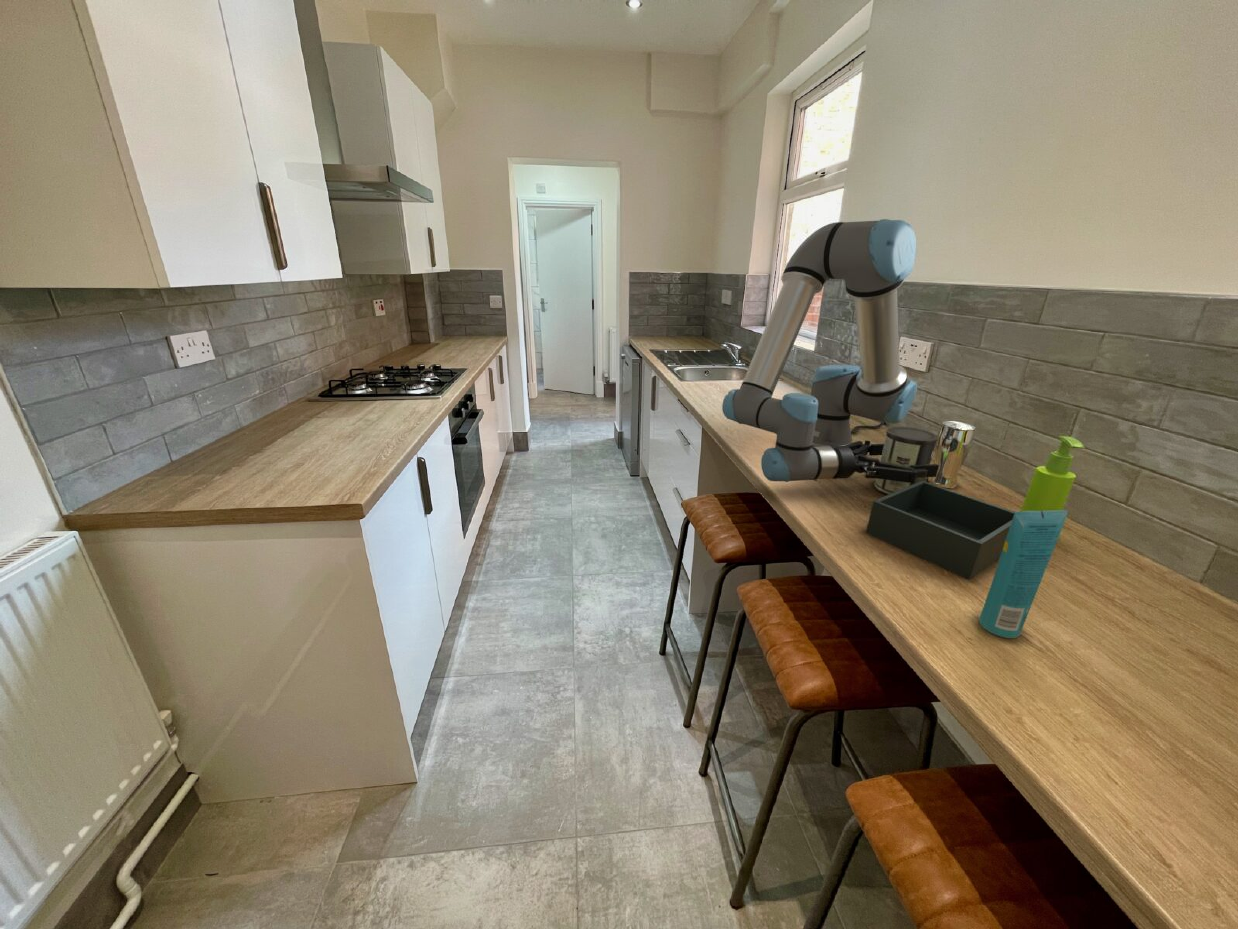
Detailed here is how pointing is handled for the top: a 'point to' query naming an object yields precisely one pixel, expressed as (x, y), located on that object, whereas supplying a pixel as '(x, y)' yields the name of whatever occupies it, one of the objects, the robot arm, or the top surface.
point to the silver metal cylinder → (951, 452)
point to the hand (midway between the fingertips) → (914, 459)
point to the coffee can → (906, 453)
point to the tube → (1020, 570)
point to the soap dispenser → (1052, 479)
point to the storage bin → (942, 527)
